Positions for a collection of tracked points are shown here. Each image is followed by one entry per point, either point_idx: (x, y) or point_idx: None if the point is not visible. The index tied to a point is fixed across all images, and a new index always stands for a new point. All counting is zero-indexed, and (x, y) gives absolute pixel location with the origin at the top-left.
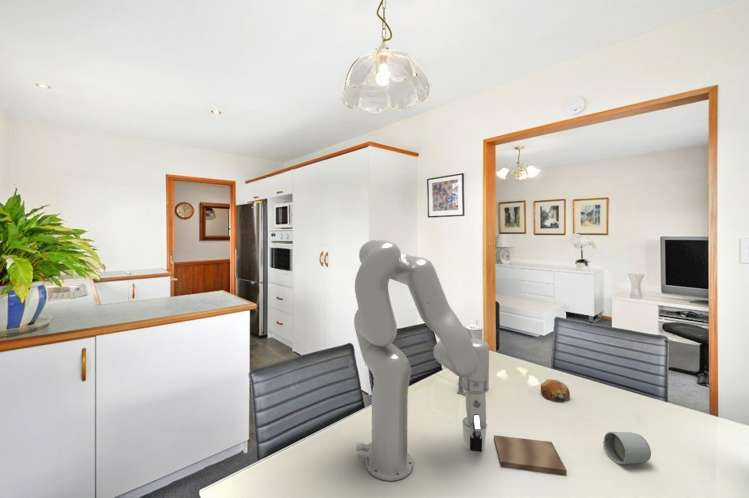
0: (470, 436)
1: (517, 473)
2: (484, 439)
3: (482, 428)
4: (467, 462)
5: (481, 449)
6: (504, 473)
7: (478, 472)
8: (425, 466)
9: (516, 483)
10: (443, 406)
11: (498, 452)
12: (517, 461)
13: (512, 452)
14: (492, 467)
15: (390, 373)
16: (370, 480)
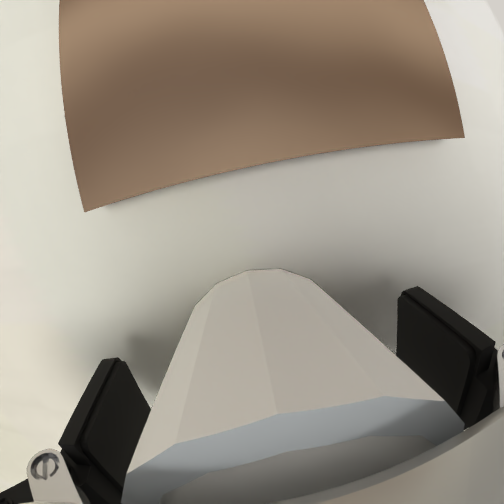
0: (464, 427)
1: (442, 47)
2: (322, 304)
3: (445, 417)
4: None
5: (425, 295)
6: (472, 122)
7: (493, 264)
8: None
9: (499, 78)
10: (11, 463)
11: (372, 143)
12: (411, 16)
13: (315, 23)
14: (454, 191)
15: None
16: None
